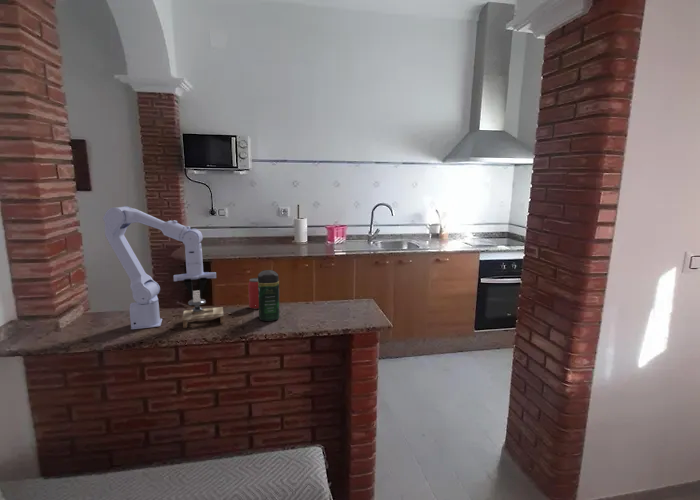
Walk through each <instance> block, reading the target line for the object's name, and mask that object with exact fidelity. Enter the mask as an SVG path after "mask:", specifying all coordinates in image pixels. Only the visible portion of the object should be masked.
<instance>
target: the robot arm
mask: <svg viewBox="0 0 700 500" xmlns="http://www.w3.org/2000/svg"><path fill="white" fill-rule="evenodd" d="M102 221H103V222H104V236H105V238H106V241H108V243H109V245H110V247H111V249H112V251H113V252H114V254H115V256H116V257H117V259H118V261H119V262H120V264H121V266H122V267H123V269H124V271H125V273H126V274H127V277H128V278H129V280H130V284H129V285H130V286H129V288H130V290H131V292H132V293H131V294H132V296H131V297H132V299H133V300H134V302H130V304H129V319H130V330H139V329H140V330H141V329H147V328H148V329H149V328H150V329H151V328H156V327H157V328H158V327H161V325H162V321H163V318H161V317H160V316H161V315H160V314H161V313H160V305H159V298H158V295H159V293H160V292H161V287H160V285H159V283H158V282H156V281H155V280H154V279H153V278H152V276H151V275H149V274H147V273H146V271H145V269H144V267H143V265H142V264H141V262H140V260H139V259H138V256H137V255H136V253H135V252H134V250H133V248H132V246H131V245H130V243H129V242H128V239H127V238H126V236H125V233H126V231H127V229H128V227H129V226H130V225H131V224H134V223H138V224H139V223H140V224H143V225H145V226H148V227H151V228H153V229H157V230H160V231H161V232H162V234H163V236H165V237H168V238H171V239H173V240H176V241H178V242H180V243H181V242H182V244H183V245H184V251H185V255H184V256H185V267H186V268H185V269H186V273H181V274H174V275H173V282H178V281H179V282H180V281H183V283H184V285H185V286H186V288H187V290H188V293H189V295H190V300H193V291H194V290H193V280H198V281H199V290H200V299H203V293H204V289H205V286H206V284H207V282H208V280H207V279H217V272H215V271H214V272H213V271H212V272H211V271H210V272H209V271H204V263H203V262H204V261H203V260H204V259H203V257H204V256H203V249H202V241H203V239H204V236H203V232H202V231H200V229H198V228H193V227H192V228H191V226H190V225H188V226H187V225H183V224H181V223H179V222H178V220H175V219H174V220H168V221H164V220H162V219H160V218H157V217H155V216H153V215H150V214H148V213H146V212H144V211H141V210H139V209H137V208H134V207H133V208H132V207H131V206H127V205H122V206H119V207H110V208H109V209H107V210H106V211H105V214H104V215H103V217H102Z"/></svg>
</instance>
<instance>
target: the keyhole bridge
mask: <svg viewBox="0 0 700 500" xmlns="http://www.w3.org/2000/svg"><path fill="white" fill-rule="evenodd" d="M202 309H203V310H202V311H200V312H193V309H189V310H188V309H187V310H183V314H182V328H183V329H187V328H188V322H189V320H197V319H206V318H207V319H208V318H217V317H219V321H220V322H219V323H220V324H221V325H224V324H225V318H224V317H225V316H224V307H223V306H220V307H219V306H218V307H209V308H202Z"/></svg>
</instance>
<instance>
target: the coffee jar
mask: <svg viewBox="0 0 700 500" xmlns="http://www.w3.org/2000/svg"><path fill="white" fill-rule="evenodd" d="M257 278H258V298H259V309H258V318H259V320H260V321H263V322H265V321H266V322H273V321H276V320H278V319H280V279H279V274H278V273H277V272H276V271H274V270H273V269H267V270H262V271H260V272H259V273H258V274H257Z"/></svg>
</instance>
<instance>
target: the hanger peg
mask: <svg viewBox="0 0 700 500" xmlns="http://www.w3.org/2000/svg"><path fill="white" fill-rule="evenodd" d="M206 303H207V301H206V299H204V298H202V299H200V289H199V290H198V289H197V290H193V299H190V300H189V301H188V302H187V304H188V305H189V306H190V307H191V306H194V307H193V308H192V310H193V312H200V311H202V310H203V309H204V308H203V307H201V306H202V305H205V304H206Z"/></svg>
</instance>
